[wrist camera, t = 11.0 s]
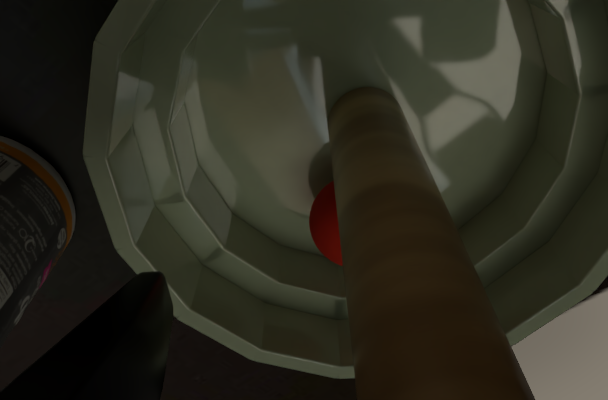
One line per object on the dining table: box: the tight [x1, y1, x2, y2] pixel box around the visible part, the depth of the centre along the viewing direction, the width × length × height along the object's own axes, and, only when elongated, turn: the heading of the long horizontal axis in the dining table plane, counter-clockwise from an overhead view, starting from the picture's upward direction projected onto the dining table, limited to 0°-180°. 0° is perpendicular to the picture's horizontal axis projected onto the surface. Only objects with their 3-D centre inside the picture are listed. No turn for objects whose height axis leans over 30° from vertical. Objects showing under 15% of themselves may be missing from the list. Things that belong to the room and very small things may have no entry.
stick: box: [328, 87, 535, 400], centre depth 11 cm, size 2×2×12 cm
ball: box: [309, 181, 343, 266], centre depth 16 cm, size 3×3×3 cm
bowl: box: [82, 0, 608, 379], centre depth 14 cm, size 14×14×5 cm
